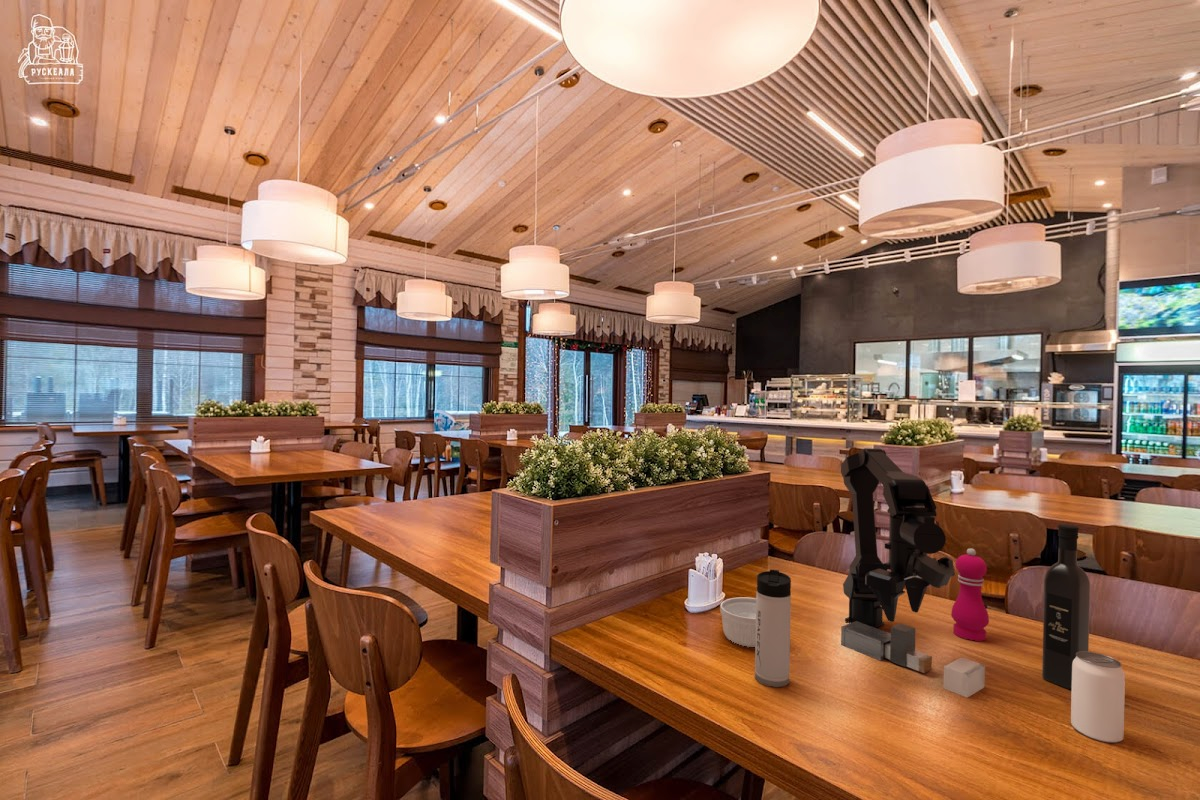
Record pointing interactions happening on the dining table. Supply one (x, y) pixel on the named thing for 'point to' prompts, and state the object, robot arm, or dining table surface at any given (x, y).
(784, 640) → the travel mug
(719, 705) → the dining table surface
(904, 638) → the grey l-shaped block
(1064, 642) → the wine bottle
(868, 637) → the sleeve
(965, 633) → the pepper mill
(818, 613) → the dining table surface
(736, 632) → the ramekin
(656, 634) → the dining table surface
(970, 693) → the grey rectangular block
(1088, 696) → the can
